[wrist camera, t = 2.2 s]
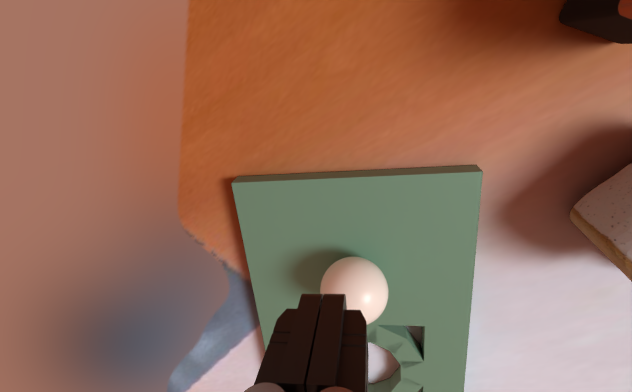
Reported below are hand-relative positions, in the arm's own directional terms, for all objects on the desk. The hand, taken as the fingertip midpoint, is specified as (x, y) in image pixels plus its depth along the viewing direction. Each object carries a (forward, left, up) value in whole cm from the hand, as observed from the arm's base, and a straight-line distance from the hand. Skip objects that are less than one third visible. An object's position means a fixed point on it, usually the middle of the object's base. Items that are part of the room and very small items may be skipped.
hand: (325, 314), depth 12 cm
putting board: (+13, 0, -16) cm, 20 cm away
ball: (+8, 0, -12) cm, 14 cm away
